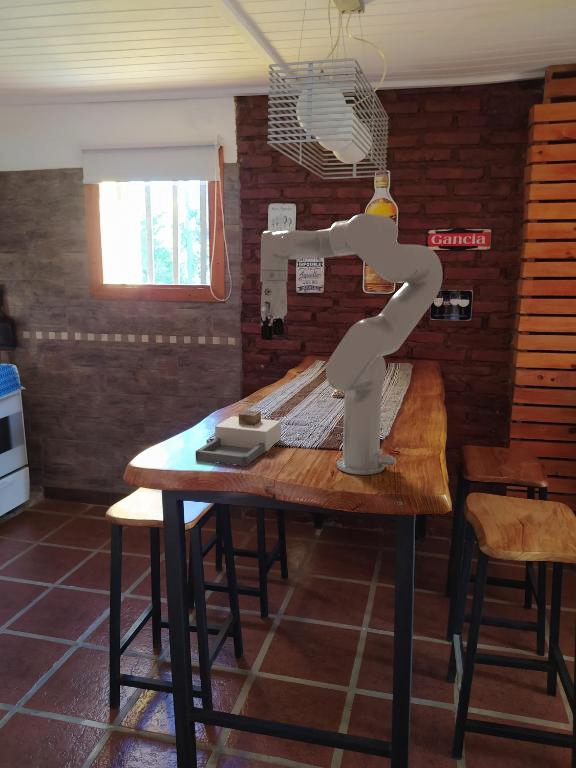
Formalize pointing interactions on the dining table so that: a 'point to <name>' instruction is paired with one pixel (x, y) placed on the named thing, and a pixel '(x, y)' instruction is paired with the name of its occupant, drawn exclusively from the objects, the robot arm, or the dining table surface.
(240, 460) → the box
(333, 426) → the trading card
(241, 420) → the walnut tile
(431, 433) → the dining table surface
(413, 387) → the dining table surface
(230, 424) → the raised plate
